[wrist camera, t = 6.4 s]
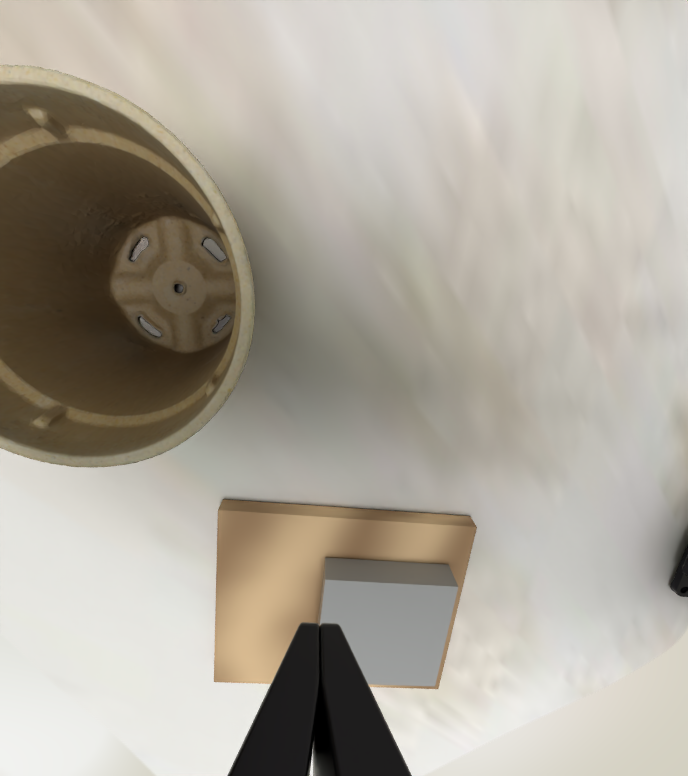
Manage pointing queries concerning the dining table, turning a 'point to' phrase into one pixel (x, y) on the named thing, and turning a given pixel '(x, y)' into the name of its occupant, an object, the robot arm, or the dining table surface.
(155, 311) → the flower pot
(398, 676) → the tile
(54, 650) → the dining table surface
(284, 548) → the board
